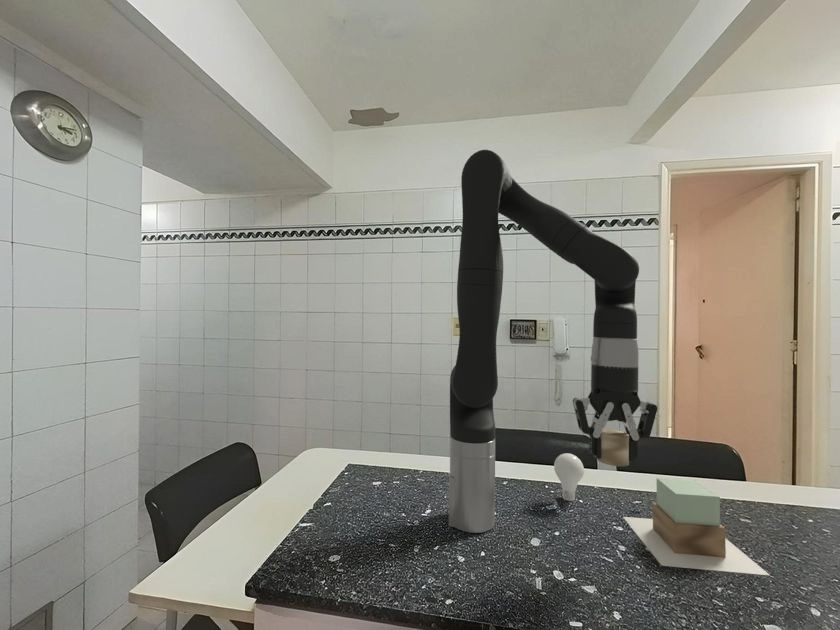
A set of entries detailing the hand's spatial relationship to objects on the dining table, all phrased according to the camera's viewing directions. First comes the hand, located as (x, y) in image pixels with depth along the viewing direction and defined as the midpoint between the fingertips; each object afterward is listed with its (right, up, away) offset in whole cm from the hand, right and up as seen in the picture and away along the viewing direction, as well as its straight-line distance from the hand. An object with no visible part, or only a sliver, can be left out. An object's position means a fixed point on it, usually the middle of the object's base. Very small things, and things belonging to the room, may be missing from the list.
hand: (613, 458), depth 67 cm
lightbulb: (0, -18, +19) cm, 26 cm away
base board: (+14, -17, +2) cm, 22 cm away
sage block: (+14, -11, +2) cm, 18 cm away
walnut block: (+14, -16, +2) cm, 22 cm away
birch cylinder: (0, 0, 0) cm, 0 cm away
